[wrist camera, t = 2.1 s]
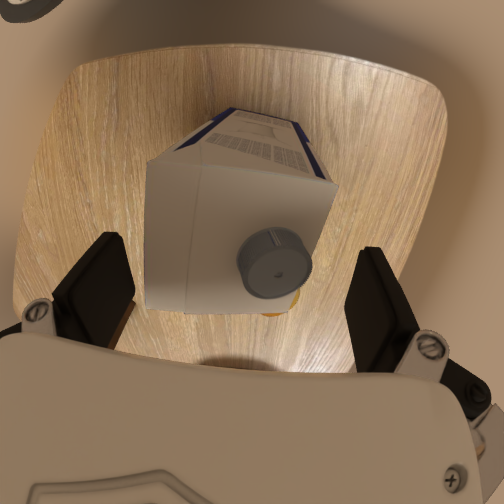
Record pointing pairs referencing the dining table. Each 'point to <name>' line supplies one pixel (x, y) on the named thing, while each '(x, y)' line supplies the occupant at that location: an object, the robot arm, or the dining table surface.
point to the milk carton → (233, 216)
